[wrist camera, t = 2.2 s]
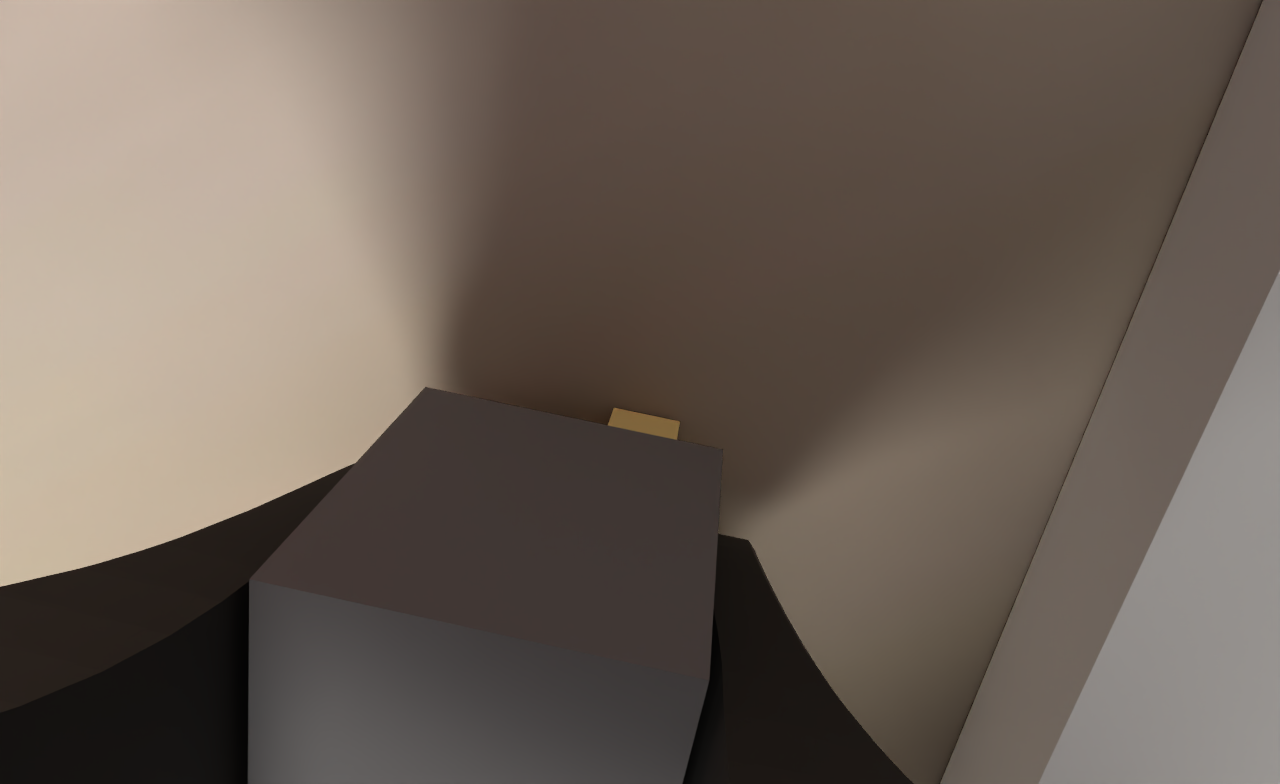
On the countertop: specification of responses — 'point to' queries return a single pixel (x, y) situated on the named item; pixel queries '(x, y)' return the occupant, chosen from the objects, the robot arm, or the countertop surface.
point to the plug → (491, 606)
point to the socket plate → (1166, 510)
